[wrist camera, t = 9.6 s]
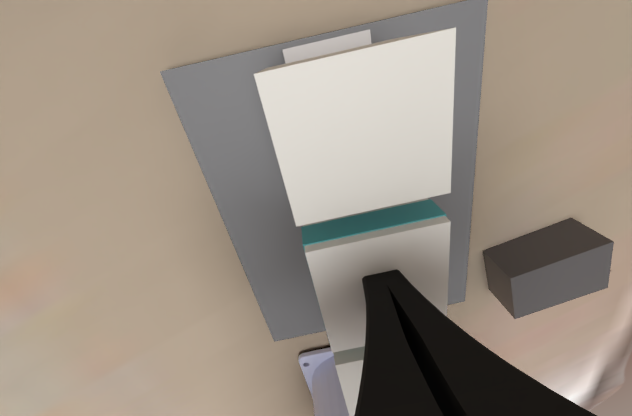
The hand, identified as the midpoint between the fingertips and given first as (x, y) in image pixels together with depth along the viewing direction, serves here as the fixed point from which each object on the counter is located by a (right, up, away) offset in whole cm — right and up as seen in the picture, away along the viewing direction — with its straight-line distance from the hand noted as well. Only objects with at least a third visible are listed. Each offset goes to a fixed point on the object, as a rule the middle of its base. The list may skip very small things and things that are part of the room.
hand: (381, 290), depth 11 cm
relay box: (+13, 0, +9) cm, 16 cm away
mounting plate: (-1, +3, +6) cm, 7 cm away
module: (0, +2, +4) cm, 5 cm away
